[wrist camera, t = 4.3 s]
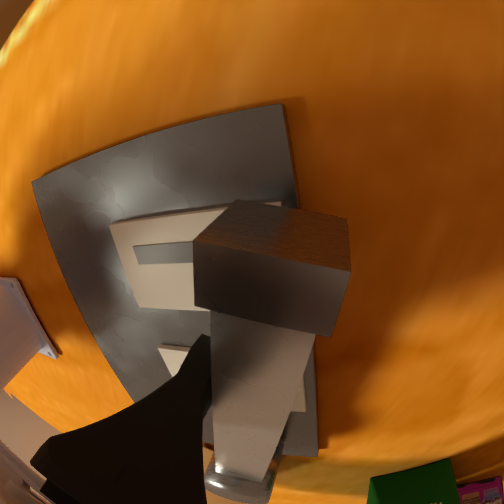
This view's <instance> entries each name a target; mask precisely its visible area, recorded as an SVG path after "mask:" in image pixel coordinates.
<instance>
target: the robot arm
mask: <svg viewBox="0 0 504 504" xmlns="http://www.w3.org/2000/svg"><path fill="white" fill-rule="evenodd" d="M37 352H39V353H41V354H44V355H46V356H49V357H51V358H54V359H57V358H58V357H59V355H58V353H57V351H56V350H55V348H54V347H53V345H52V343H51V342H50V340H49V338H48V337H47V335H46V333H45V331H44V330H43V328H42V326H41V324H40V323H39V321H38V319H37V317H36V315H35V313H34V311H33V310H32V308H31V306H30V304H29V302H28V300H27V298H26V296H25V294H24V291H23V289H22V287H21V285H20V283H19V281H18V280H17V279H16V278H7V277H0V392H1V391H2V389H3V388H4V387H5V386H6V385H7V384H8V383H9V382H10V381H11V380H12V378H13V377H14V376H15V375H16V374H17V373H18V372H19V371H20V370H21V369H22V368H23V367H24V366H25V365H26V364H27V363H28V362H29V361H30V360H31V358H32V357H33V356H34V355H35V354H36V353H37ZM211 405H212V381H211V337H210V336H207V335H204V334H201V335H200V336H199V338H198V339H197V340H196V341H195V343H194V344H193V345H192V347H191V348H190V350H189V352H188V354H187V356H186V357H185V359H184V361H183V363H182V365H181V367H180V369H179V371H178V373H177V374H176V375H174V376H173V377H172V378H171V379H169V380H168V381H167V382H165V383H164V384H163V385H161V386H160V387H159V388H157V389H156V390H155V391H153V392H152V393H150V394H149V395H147V396H146V397H144V398H143V399H141V400H139V401H138V402H136V403H134V404H133V405H131V406H129V407H127V408H125V409H123V410H121V411H120V412H118V413H116V414H114V415H112V416H109V417H107V418H105V419H103V420H100V421H98V422H95V423H93V424H90V425H88V426H85V427H82V428H79V429H76V430H73V431H70V432H66V433H62V434H59V435H55V436H52V437H50V438H49V439H48V440H47V441H46V442H45V443H44V444H43V445H42V446H41V447H40V448H39V449H38V451H37V452H36V454H35V455H34V456H33V458H32V459H31V460H30V463H31V465H32V466H33V467H34V468H35V469H36V470H37V471H38V472H40V473H41V474H42V475H43V476H45V477H46V478H47V480H46V481H45V480H44V479H43V478H41V477H40V476H39V475H38V474H36V473H35V472H34V471H33V470H32V469H31V468H30V467H28V466H27V465H26V464H25V463H24V462H23V461H22V460H21V459H20V458H18V457H17V456H16V455H15V454H14V453H13V452H12V451H11V450H10V449H9V448H8V447H7V446H6V445H5V444H4V443H3V442H2V441H1V440H0V504H51V503H52V504H207V500H206V492H205V482H204V470H203V452H202V451H203V450H202V448H203V445H202V436H203V419H204V418H205V416H206V414H207V412H208V410H209V409H210V407H211ZM30 486H31V487H32V488H33V489H34V490H35V491H37V492H38V493H39V494H40V495H42V496H43V497H44V498H45V499H47V500H48V501H49V502H50V503H49V502H48V501H46V500H45V499H43V498H42V497H40V496H38V495H37V494H36V493H34V492H33V491H31V490H30Z"/></svg>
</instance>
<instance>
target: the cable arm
mask: <svg viewBox="0 0 504 504" xmlns="http://www.w3.org/2000/svg"><path fill="white" fill-rule="evenodd" d="M350 274H351V261H350V247H349V236H348V225H347V219H346V218H341V217H336V216H331V215H326V214H321V213H315V212H310V211H305V210H299V209H294V208H288V207H282V206H276V205H271V204H265V203H259V202H252V201H246V200H240V199H237V200H235V201H234V202H233V203H232V204H231V205H230V206H229V207H228V208H227V209H226V210H225V211H223V212H222V213H221V214H220V215H219V216H218V217H217V218H216V219H215V220H214V221H213V222H212V223H211V224H209V225H208V226H207V227H206V228H205V229H204V230H203V231H202V232H201V233H200V234H199V235H198V236H197V237H196V238H195V239H194V240H193V281H194V306H196V307H200V308H204V309H208V310H210V331H211V381H212V410H213V432H214V453H213V455H212V457H211V460H210V462H209V465H208V467H207V469H206V471H205V474H204V482H205V489H207V490H208V491H210V492H212V493H214V494H216V495H218V496H221V497H224V498H227V499H230V500H233V501H237V502H242V503H248V504H266V503H268V502H269V499H270V496H271V493H272V489H273V486H274V482H275V479H276V475H277V471H278V468H279V464H280V460H281V456H282V453H283V449H284V442H283V440H282V439H281V438H280V437H281V435H282V432H283V429H284V427H285V424H286V422H287V419H288V416H289V414H290V411H291V408H292V405H293V403H294V400H295V397H296V394H297V391H298V388H299V385H300V383H301V380H302V377H303V374H304V371H305V368H306V365H307V361H308V358H309V355H310V352H311V349H312V346H313V342H314V339H315V336H316V335H321V336H327V337H331V335H332V332H333V329H334V326H335V323H336V320H337V317H338V314H339V311H340V308H341V305H342V301H343V298H344V295H345V292H346V288H347V285H348V281H349V278H350Z"/></svg>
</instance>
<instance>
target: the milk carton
mask: <svg viewBox="0 0 504 504" xmlns="http://www.w3.org/2000/svg"><path fill="white" fill-rule="evenodd" d="M367 504H461V501H460V497H459V493H458V489H457V485H456V481H455V477H454V473H453V470H452V466H451V462H450V459H449V458H448V459H445V460H442V461H439V462H436V463H433V464H429V465H426V466H422V467H419V468H415V469H411V470H407V471H403V472H399V473H394V474H390V475H385V476H380V477H374V478H370V485H369V492H368V498H367Z"/></svg>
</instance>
